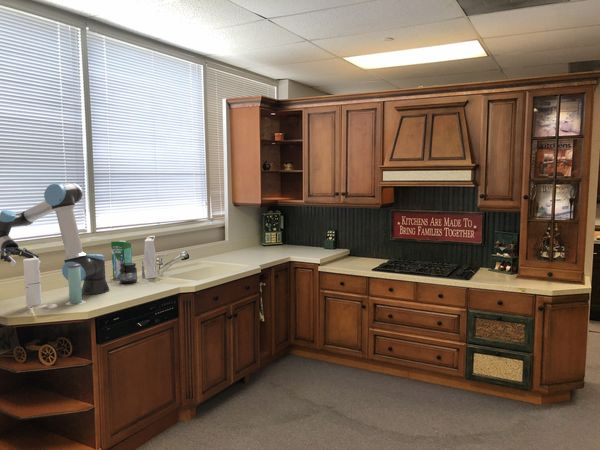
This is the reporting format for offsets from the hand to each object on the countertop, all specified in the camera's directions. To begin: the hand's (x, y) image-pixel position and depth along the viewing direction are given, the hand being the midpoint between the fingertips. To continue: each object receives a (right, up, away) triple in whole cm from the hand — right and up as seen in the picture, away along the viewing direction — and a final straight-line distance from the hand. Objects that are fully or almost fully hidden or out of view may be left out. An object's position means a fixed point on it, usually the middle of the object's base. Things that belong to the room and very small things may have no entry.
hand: (27, 264), depth 261 cm
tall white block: (+6, -22, -4) cm, 23 cm away
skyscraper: (+45, -15, +66) cm, 82 cm away
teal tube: (+28, -20, -4) cm, 34 cm away
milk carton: (+26, -14, +68) cm, 75 cm away
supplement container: (+36, -16, +52) cm, 65 cm away
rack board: (+21, -22, -8) cm, 31 cm away
